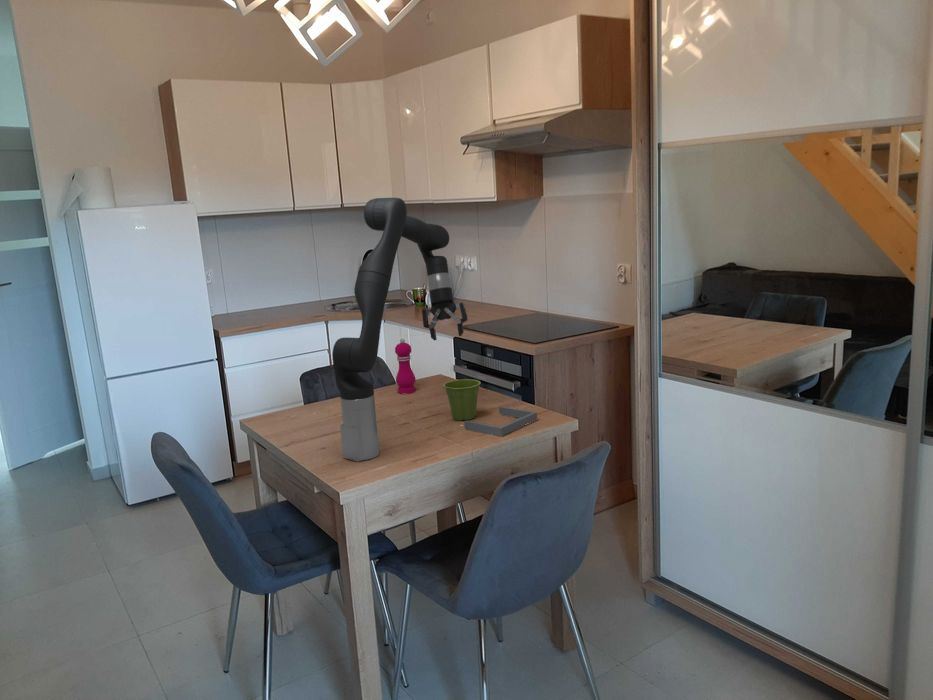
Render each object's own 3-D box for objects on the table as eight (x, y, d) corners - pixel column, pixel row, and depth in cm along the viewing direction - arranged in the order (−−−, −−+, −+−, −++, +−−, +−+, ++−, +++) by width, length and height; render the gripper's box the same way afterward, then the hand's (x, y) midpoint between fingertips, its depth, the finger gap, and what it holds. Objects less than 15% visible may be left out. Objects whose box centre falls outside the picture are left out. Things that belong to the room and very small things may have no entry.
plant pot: (488, 413, 231) (486, 379, 229) (474, 424, 221) (472, 389, 218) (454, 411, 236) (452, 378, 234) (439, 422, 225) (437, 387, 223)
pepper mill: (413, 394, 260) (409, 340, 256) (394, 394, 262) (389, 340, 258) (418, 389, 267) (414, 336, 263) (400, 389, 269) (395, 337, 265)
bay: (501, 436, 207) (501, 428, 207) (464, 429, 216) (464, 421, 216) (537, 420, 221) (536, 412, 220) (501, 413, 230) (500, 406, 229)
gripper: (416, 291, 230) (423, 341, 229) (459, 283, 227) (467, 333, 226) (422, 293, 237) (429, 342, 236) (463, 286, 235) (471, 335, 233)
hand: (447, 338), depth 231 cm, fingers open, 8 cm apart
